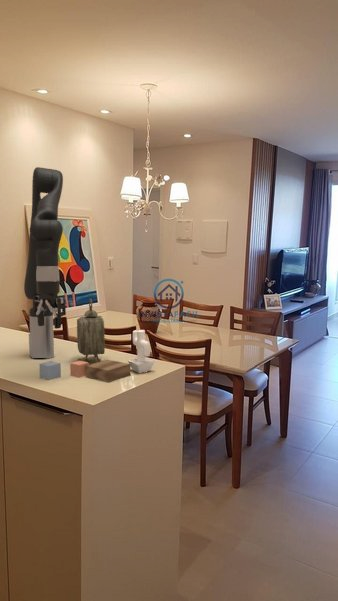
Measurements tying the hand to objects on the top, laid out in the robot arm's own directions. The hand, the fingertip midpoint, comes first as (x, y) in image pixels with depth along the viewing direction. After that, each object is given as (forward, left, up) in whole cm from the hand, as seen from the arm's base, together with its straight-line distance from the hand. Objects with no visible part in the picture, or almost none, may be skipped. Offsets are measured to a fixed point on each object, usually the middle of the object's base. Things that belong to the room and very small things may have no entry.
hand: (49, 327), depth 156 cm
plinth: (+15, +13, -18) cm, 26 cm away
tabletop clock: (-5, +24, -18) cm, 30 cm away
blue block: (0, 0, -18) cm, 18 cm away
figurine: (+20, +25, -18) cm, 36 cm away
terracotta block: (+6, +8, -18) cm, 20 cm away
